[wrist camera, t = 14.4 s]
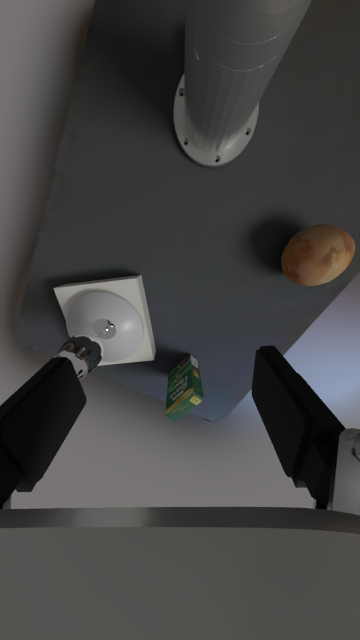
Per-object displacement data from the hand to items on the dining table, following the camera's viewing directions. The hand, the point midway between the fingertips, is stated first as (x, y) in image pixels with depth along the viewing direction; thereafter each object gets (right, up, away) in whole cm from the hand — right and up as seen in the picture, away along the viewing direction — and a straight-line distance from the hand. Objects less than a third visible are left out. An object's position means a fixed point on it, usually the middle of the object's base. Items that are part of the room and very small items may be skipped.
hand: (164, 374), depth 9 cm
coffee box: (+2, -8, +36) cm, 37 cm away
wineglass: (-14, +1, +27) cm, 30 cm away
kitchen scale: (-14, +3, +32) cm, 35 cm away
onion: (+24, +15, +26) cm, 39 cm away
